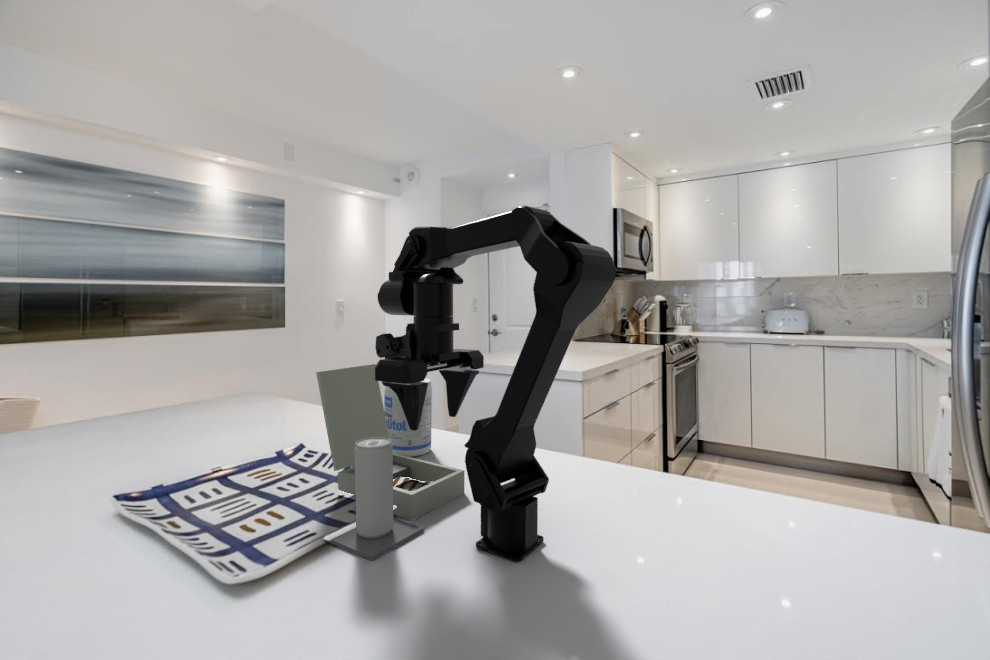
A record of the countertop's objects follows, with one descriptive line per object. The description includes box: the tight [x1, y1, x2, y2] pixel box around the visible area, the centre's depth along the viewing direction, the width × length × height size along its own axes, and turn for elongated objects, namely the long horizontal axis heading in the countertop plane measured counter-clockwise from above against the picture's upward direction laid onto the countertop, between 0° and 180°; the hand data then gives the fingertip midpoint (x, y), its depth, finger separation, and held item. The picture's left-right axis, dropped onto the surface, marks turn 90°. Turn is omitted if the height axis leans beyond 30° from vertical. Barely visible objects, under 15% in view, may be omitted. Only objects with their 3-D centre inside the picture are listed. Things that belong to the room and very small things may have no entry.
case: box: [337, 453, 465, 521], centre depth 78 cm, size 16×12×4 cm
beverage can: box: [355, 437, 394, 539], centre depth 64 cm, size 5×5×12 cm
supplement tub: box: [383, 377, 433, 458], centre depth 100 cm, size 10×10×15 cm
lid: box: [316, 363, 390, 472], centre depth 83 cm, size 16×12×1 cm
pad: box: [328, 516, 424, 562], centre depth 64 cm, size 9×9×1 cm
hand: (434, 422), depth 71 cm, fingers open, 9 cm apart
